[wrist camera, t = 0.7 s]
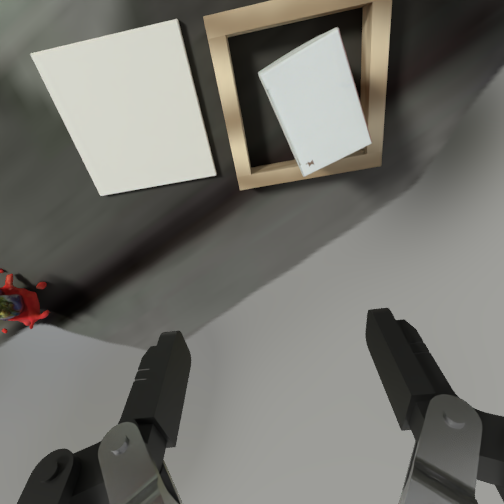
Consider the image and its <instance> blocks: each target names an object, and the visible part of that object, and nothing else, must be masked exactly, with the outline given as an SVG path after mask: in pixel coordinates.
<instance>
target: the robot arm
mask: <svg viewBox="0 0 504 504" xmlns="http://www.w3.org/2000/svg"><path fill="white" fill-rule="evenodd" d="M366 342H367V346H368V349H369V351H370V354H371V356H372V359H373V361H374V364H375V366H376V369H377V371H378V374H379V376H380V379H381V381H382V384H383V386H384V389H385V391H386V393H387V396H388V398H389V401H390V403H391V406H392V408H393V411H394V413H395V416H396V418H397V421H398V423H399V426H400V428H401V430H411V431H412V433H413V435H414V438H415V440H416V441H415V445H414V448H413V452H412V456H411V459H410V464H409V467H408V471H407V474H406V478H405V482H404V486H403V489H402V493H401V497H400V500H399V503H398V504H478V503H477V500H476V499H475V486H476V479H477V480H480V481H484V482H487V483H490V484H494V485H495V486H496V488H497V490H498V492H499V494H500V496H501V497H502V499H503V501H504V417H502V416H498V415H493V414H489V413H485V412H482V411H479V410H477V409H474V408H473V407H471V406H470V405H469V404H468V403H467V402H465V401H464V400H462V399H460V398H459V397H458V396H457V395H456V394H455V392H454V391H453V390H452V388H451V386H450V385H449V383H448V382H447V380H446V378H445V376H444V375H443V373H442V372H441V370H440V368H439V367H438V365H437V363H436V362H435V360H434V358H433V357H432V355H431V354H430V353H429V350H428V348H427V347H426V345H425V344H424V343H423V341H422V339H421V337H420V335H419V334H418V332H417V330H416V329H415V328H414V327H413V326H411V325H410V324H409V323H408V322H406V321H405V320H395V319H394V316H393V314H392V313H391V311H390V310H389V309H388V308H381V309H373V310H368V314H367V324H366ZM190 367H191V355H190V351H189V349H188V347H187V344H186V342H185V340H184V338H183V335H182V333H181V332H180V331H172V332H163V333H162V334H161V335H160V337H159V341H158V344H157V346H151V347H150V348H149V349H148V351H147V352H146V354H145V355H144V356H143V357H142V360H141V363H140V366H139V368H138V372H137V374H136V377H135V382H134V383H133V386H132V388H131V391H130V394H129V396H128V399H127V402H126V405H125V408H124V411H123V413H122V417H121V419H120V421H119V423H118V425H116V426H115V427H113V428H112V429H111V430H110V431H109V432H108V433H107V434H106V435H105V437H104V438H103V440H102V441H101V442H99V443H97V444H95V445H92V446H90V447H88V448H85V449H83V450H81V451H79V452H76V453H74V454H73V453H72V452H71V451H69V450H68V449H58V450H56V451H53V452H51V453H50V454H48V455H47V456H46V457H44V458H43V459H42V460H41V461H40V462H39V463H38V465H37V466H36V467H35V469H34V470H33V472H32V473H31V475H30V477H29V479H28V481H27V484H26V486H25V488H24V490H23V492H22V494H21V496H20V498H19V500H18V502H17V504H183V503H182V500H181V498H180V496H179V494H178V491H177V489H176V487H175V484H174V482H173V480H172V478H171V475H170V473H169V471H168V469H167V466H166V464H165V462H164V460H163V458H164V454H165V449H166V448H170V447H175V446H176V441H177V435H178V430H179V424H180V420H181V414H182V409H183V404H184V399H185V394H186V388H187V383H188V378H189V372H190Z"/></svg>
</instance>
